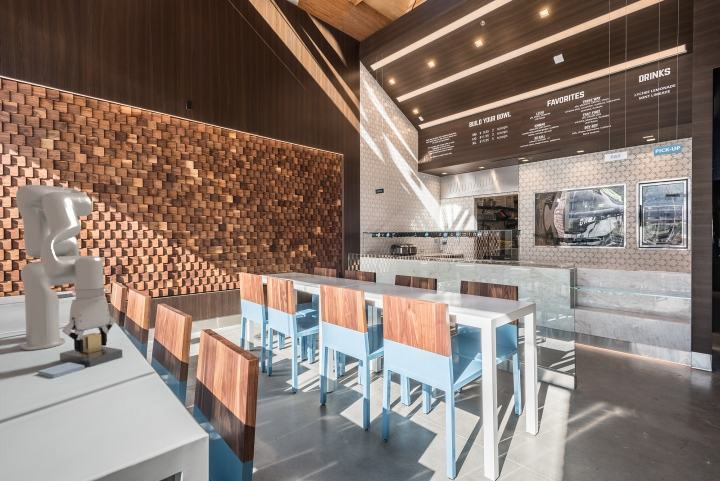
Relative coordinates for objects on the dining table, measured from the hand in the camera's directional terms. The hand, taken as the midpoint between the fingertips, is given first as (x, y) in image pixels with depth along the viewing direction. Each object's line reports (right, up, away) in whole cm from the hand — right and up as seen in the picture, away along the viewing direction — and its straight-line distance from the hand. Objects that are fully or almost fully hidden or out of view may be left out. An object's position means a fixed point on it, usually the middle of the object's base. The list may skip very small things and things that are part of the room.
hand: (91, 347), depth 121 cm
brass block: (0, -4, 0) cm, 4 cm away
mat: (-1, -4, -11) cm, 12 cm away
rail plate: (0, -4, 0) cm, 4 cm away
